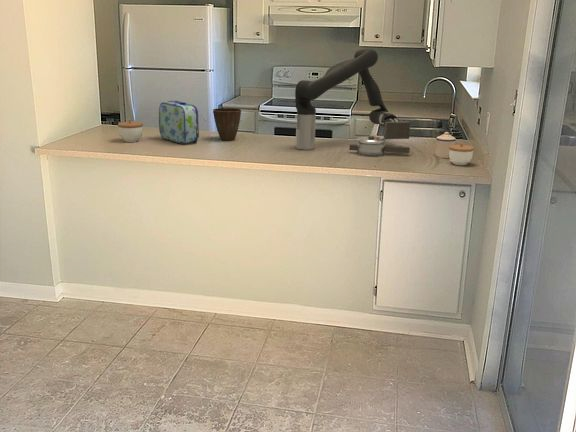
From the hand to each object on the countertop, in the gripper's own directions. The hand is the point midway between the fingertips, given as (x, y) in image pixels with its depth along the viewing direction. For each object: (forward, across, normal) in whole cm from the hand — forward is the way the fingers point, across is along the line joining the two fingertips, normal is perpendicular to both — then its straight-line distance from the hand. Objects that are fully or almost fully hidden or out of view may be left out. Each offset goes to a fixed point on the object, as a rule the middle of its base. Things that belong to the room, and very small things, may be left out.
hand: (398, 125), depth 288 cm
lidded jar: (+27, +21, +13) cm, 37 cm away
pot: (+3, -10, +13) cm, 17 cm away
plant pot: (-37, -82, +13) cm, 91 cm away
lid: (+2, -8, +7) cm, 11 cm away
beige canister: (+10, +21, +13) cm, 27 cm away
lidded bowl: (-36, -132, +13) cm, 137 cm away
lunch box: (-34, -107, +13) cm, 113 cm away
